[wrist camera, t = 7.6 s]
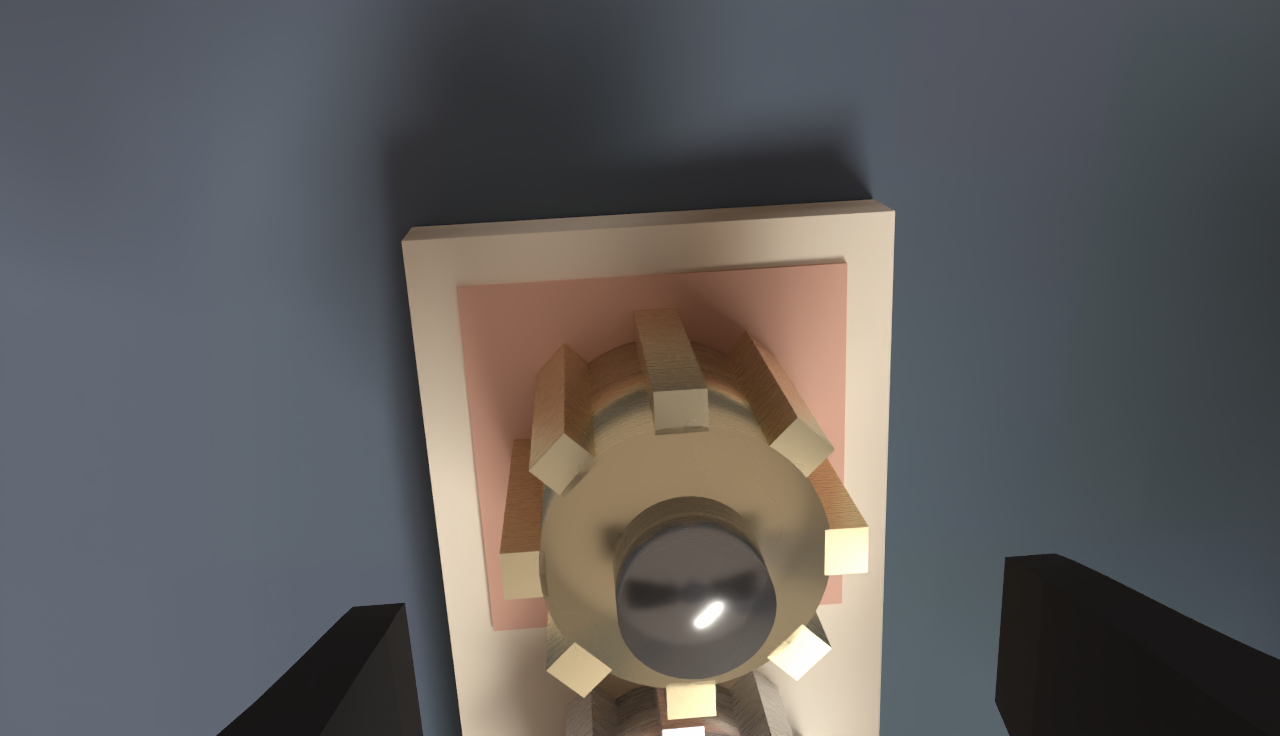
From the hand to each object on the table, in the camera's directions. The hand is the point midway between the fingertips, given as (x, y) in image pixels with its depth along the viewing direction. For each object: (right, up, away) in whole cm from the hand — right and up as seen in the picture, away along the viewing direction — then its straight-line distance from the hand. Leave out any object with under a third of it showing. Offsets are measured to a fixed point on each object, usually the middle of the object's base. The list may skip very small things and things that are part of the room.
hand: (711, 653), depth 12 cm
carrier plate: (0, 0, +8) cm, 8 cm away
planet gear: (0, +2, +5) cm, 6 cm away
